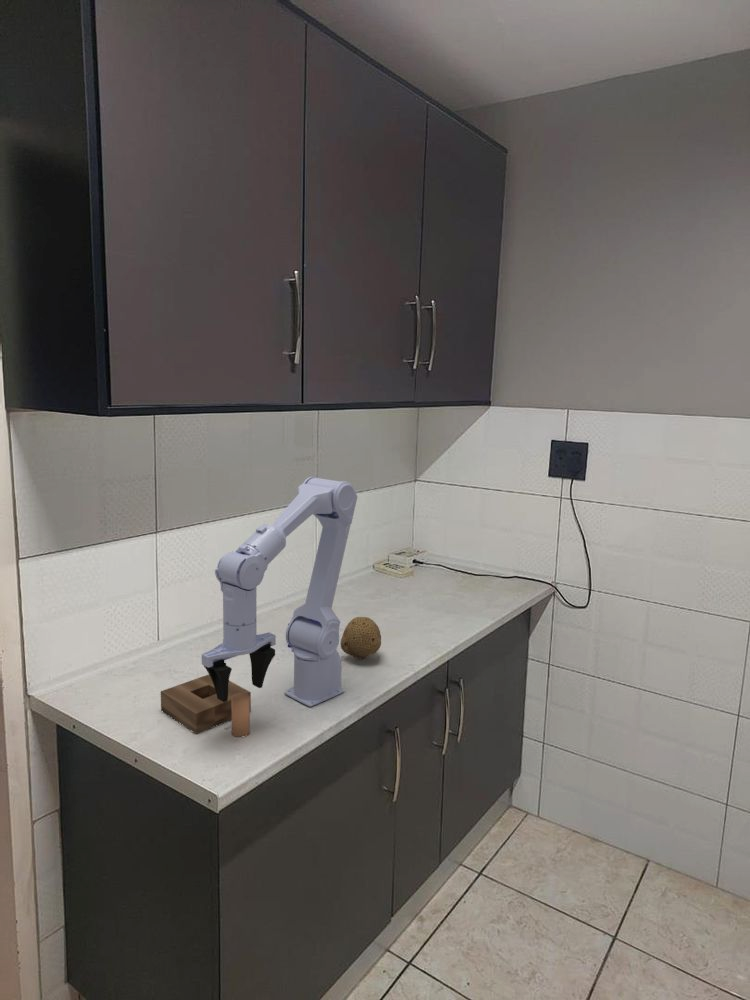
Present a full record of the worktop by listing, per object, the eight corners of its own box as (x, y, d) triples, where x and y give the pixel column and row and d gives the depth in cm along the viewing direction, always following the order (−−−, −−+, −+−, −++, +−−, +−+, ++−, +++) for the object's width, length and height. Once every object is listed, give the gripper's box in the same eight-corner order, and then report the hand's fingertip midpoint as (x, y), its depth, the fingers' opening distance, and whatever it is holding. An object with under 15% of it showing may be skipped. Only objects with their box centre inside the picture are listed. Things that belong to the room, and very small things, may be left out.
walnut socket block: (214, 690, 139) (214, 672, 138) (250, 711, 131) (250, 692, 130) (161, 710, 130) (160, 691, 130) (196, 734, 123) (196, 713, 122)
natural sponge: (389, 661, 156) (391, 619, 154) (359, 671, 150) (361, 628, 148) (364, 648, 163) (365, 608, 161) (334, 657, 157) (335, 616, 155)
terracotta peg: (242, 726, 126) (242, 690, 124) (253, 732, 124) (253, 696, 122) (228, 732, 123) (227, 696, 122) (238, 739, 121) (238, 702, 120)
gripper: (258, 605, 128) (258, 673, 130) (191, 624, 117) (192, 698, 119) (283, 615, 123) (282, 685, 125) (214, 635, 112) (215, 712, 115)
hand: (240, 692), depth 122 cm, fingers open, 7 cm apart
